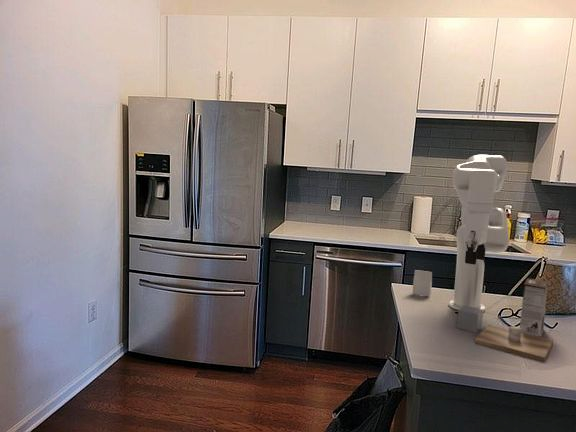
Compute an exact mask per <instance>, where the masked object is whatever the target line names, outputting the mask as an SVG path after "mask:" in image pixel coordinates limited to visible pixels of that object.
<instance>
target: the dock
mask: <svg viewBox="0 0 576 432" xmlns="http://www.w3.org/2000/svg"><path fill="white" fill-rule="evenodd" d="M484 328H485V329H483V330H482V331H481V332H480V333H479V334H478V335H477V336H476V337H475V339H474V343H475V344H478V345H481V346H486V347H489V348H493V349H496V350H499V351H503V352H508V353H510V354H515V355H519V356H522V357H526V358H530V359H533V360H537V361H541V362H545V361H546V358H547V357H548V354H549V352H550V350H551V349H552V346H553V343H554V339H549V338H547V337H546V338H545V337H542V336H541V337H540V336H535V335H531V334H526V333H522V332H521V328H520V326H519V327H518V326H514V325H513V326H509V328H505V327H500V326H496V325H492V324H488V325H487V326H486V327H484Z"/></svg>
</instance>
